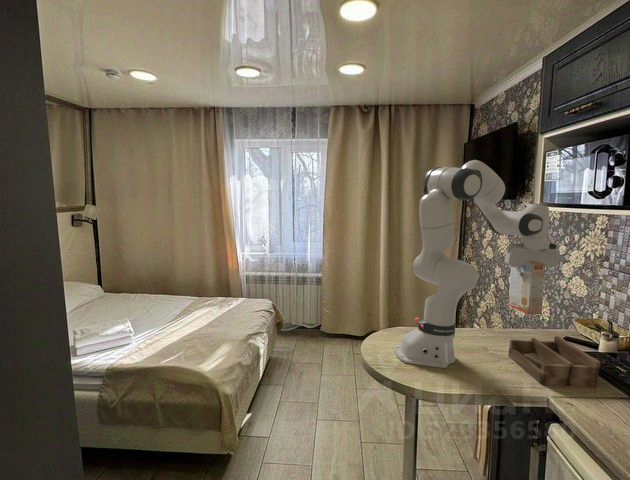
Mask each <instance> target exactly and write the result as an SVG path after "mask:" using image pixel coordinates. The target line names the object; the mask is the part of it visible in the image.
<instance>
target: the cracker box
mask: <svg viewBox="0 0 630 480" xmlns="http://www.w3.org/2000/svg"><path fill="white" fill-rule="evenodd" d="M520 269H521V272H524V274H523V276H518V275H517V274H518V271H517V269H516V266H514V265H510V276H509V277H510V278H509V280H510V281H509V292H508V293H509V294H508V307H511V308H513V309H516V310H518V311H519V312H522V313H525V314H526V315H542V312H543V300H544V299H543V298H544V287H545V276H546V275H545V271H546V267H545V264H543V263H536V262H528V263H527V264H526V266H522V268H520Z"/></svg>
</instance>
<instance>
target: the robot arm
mask: <svg viewBox="0 0 630 480" xmlns="http://www.w3.org/2000/svg"><path fill="white" fill-rule="evenodd" d="M422 192H423V193H424V195H423V196H422V197H421V198H420V200H419V204H418V205H419V206H418V207H419V208H418V215H419V225H420V232H421V241H422V247H421V248H422V249H421V252H420V254H418V256H416V258H415V259H414V261H413V263H412V270H413V274H414V275H415V276H416V277H418V279H420V280H423V281H424V282H427V283H430V284H433V285H436V286H437V291H436V293H433V294H431V295H430V296H428V297H427V298H426V299H425V301H424V312H423V318H422V319H420V318H419V317H417V316H416V317H415V318H414V322H415V323H416V324H417V327H416V328H415V329H412V330H411V331H409V332H407V333H405V334H404V335H403V336H402V339H401V342H400V344H396V345H395V347H394V353H395V355H396V357H397V358H398V359H399V360H400V361H401V362H403V363H406V364H412V365H418V366H419V365H420V366H425V367H426V366H427V367H435V368H443V369H446V368H448V367H449V366H450V365H452V364H454V363H455V361H456V355H455V348H454V338H455V333H456V323H455V321H456V320H455V319H456V311H457V307H458V303H459V301H460V299H461V298H462V297H463V295H465V293H467V292H469V291H471V290H473V288H475V286H476V285H477V283H478V281H479V273H478V270H477V268H476V267H475V266H474V265H472V264H471V263H468V262H466V261H463V260H461V259H455V258H451V257H447V254H446V250H448V249H450V248H451V247H452V246H453V245H454V243H455V241H456V235H455V228H454V220H453V213H452V209H451V206H452V202H453V200H458V201H459V200H460V201H467V200H471V199H472V202H473V204H474V205H475V208H477V210H478V211H479V212H480V214H481V215H482V217H484V220H486V222H487V225H488V227H489V229H490V231H491V232H492V233H494V234H497V235H510V236H516V237H517V236H518V237H521V239H520V242H511V243H509V244H508V245H507V246H506V252H505V257H504V263H505V264H506V265H508V266H511V265H514V266H516V269H517V271H518V274H517V275H518V276H523V274H524V272H521V269H520V268H522V266H526V264H527V263H528V262H536V263H543V264H545V268H556V267H557V266H558V265H559V258H560V255H559V251H558V250H559V249H560V245H559V244H557V243H554V242H552V241H550V240H547V239H548V235H547V233H548V232H547V231H548V229H549V224H550V208H549V206H547V205H545V204H542V203H541V204H540V203H528V204H527V205H526V208H524V209H523V210H520V211H513V210H504V209H500V208H498V207H497V205H496V204H497V203H498V202H500V201H501V200H502V199H503V197H504V195H505V192H506V185H505V182H504V181H503V179H502V178H501V177H500V176H499V175H498V174H497V173H496V172H495V171H494V169H492V168H491V167H489V166H488V165H487V164H486V163H485V162H483V161H481V160H477V159H473V160H469V161H467V162H465V163H464V164H463V165H462V166H461V167H455V166H443V167H442V166H437V167H435V168H432V169H430V170H428V171H427V172H426V174H425V176H424V178H423V190H422Z"/></svg>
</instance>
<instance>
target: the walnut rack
mask: <svg viewBox="0 0 630 480" xmlns="http://www.w3.org/2000/svg"><path fill="white" fill-rule="evenodd" d="M508 347H509V348H508V355H507V356H508V358H509V359H511V360H512V361H513V362H514V363H516V364H517V365H518V366H519V367H520V368H521V369H522V370H524V371H525V372H526V373H527V374H528V375H529V376H531V377H532V378H533V379H534V380H536V382H537V383H539V384H540V385H541V386H559V387H581V388H582V387H583V388H585V387H586V388H597V385H598V379H599V374H600V367H601V361H600V360H598V359H596V358H595V357H593V356H591V355H589V354H588V353H586V352H585V351H583V350H581V349H580V348H578V347H577V346H575V345H573V344H571V343H569V341H567V340H565V339H563V338H562V337H560V336H556V335H555V336H554V340H553V341H552V340H539V339H537V338H535V337H531V339H530V340H529V339H509V346H508ZM528 353H533V354H535V355H537V356H539V357H541V358H543V359H545V360H547V361H549V362H551V363H553V364H542V367H541V369H540V368H538V367H537V366H536V365H535V364H533V363H532V362H531V361H529V360H528V359H527V358H526V357H524V356H523V354H528Z"/></svg>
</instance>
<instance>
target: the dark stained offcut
mask: <svg viewBox="0 0 630 480" xmlns="http://www.w3.org/2000/svg"><path fill="white" fill-rule="evenodd" d="M523 356H524V357H526V358H527V359H528V360H529V361H531V362H532V363H533V364H535V365H536V366H537V367H538V368H540V369H541V367H542V364H553V363H551V362H549V361H547V360H545V359H543V358H541V357H539V356H537V355H535V354H533V353H528V354H523Z"/></svg>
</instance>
